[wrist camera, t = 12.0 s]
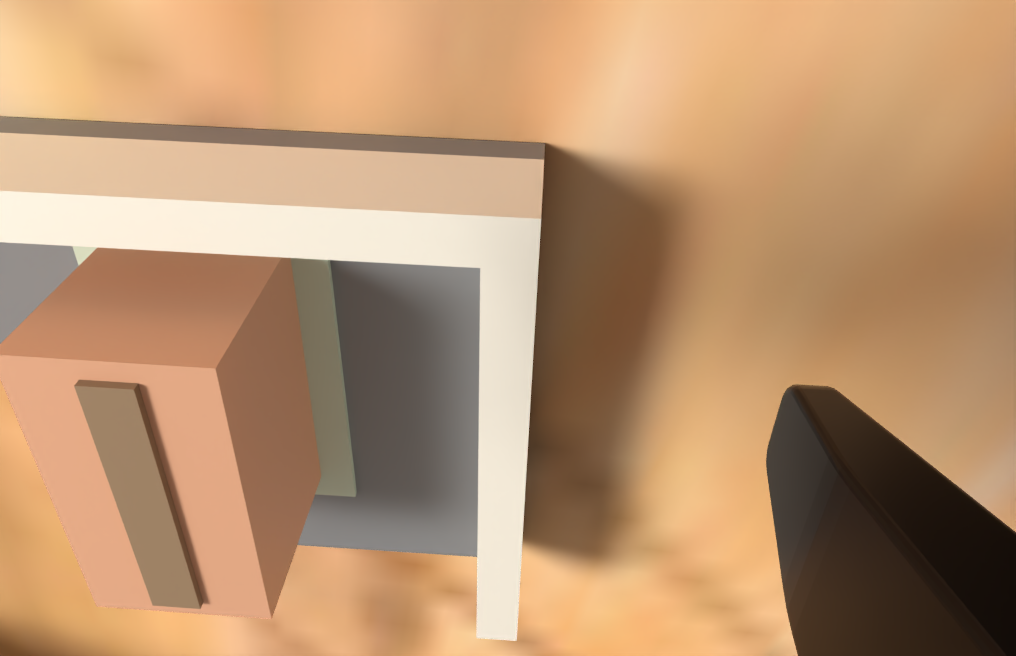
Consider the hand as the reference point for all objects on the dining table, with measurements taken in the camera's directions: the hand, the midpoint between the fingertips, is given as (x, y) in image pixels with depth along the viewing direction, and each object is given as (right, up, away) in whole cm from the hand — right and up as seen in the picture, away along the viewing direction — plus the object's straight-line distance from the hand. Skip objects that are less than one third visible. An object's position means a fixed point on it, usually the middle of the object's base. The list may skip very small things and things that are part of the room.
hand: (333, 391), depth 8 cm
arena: (-5, 0, +15) cm, 16 cm away
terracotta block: (-6, 0, +14) cm, 15 cm away
